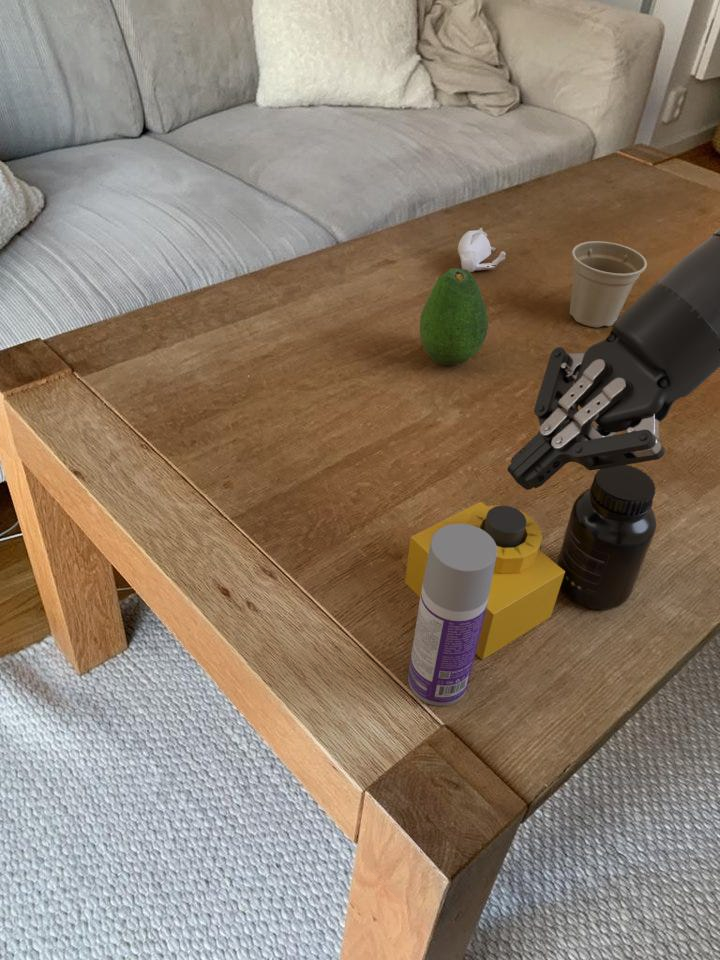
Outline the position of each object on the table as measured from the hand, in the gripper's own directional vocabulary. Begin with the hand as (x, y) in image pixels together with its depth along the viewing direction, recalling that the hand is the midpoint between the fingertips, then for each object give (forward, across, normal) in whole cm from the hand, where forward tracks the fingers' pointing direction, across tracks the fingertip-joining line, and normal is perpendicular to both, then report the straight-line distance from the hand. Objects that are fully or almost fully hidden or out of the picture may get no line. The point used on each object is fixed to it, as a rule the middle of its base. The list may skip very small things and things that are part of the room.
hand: (517, 480), depth 63 cm
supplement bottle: (+3, +2, +16) cm, 16 cm away
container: (+15, +7, +3) cm, 17 cm away
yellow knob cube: (+10, 0, +8) cm, 13 cm away
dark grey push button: (+4, 0, +4) cm, 6 cm away
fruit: (0, -35, +18) cm, 39 cm away
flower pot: (-17, -39, +35) cm, 55 cm away
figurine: (-11, -56, +29) cm, 65 cm away
